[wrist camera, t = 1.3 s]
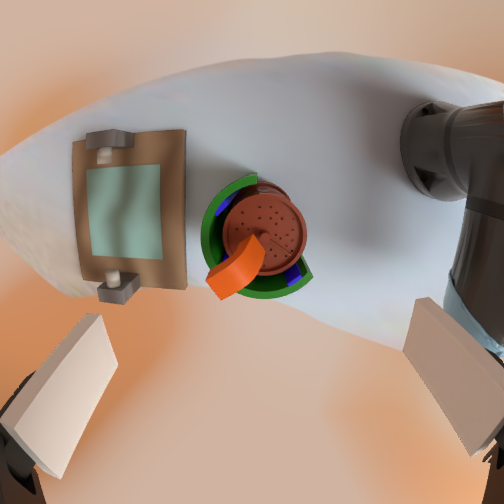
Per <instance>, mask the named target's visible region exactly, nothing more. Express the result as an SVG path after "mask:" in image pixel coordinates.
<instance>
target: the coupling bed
mask: <svg viewBox="0 0 504 504" xmlns="http://www.w3.org/2000/svg"><path fill="white" fill-rule="evenodd" d="M185 156H186V130H166V131H153V132H142V133H131V132H126V131H120V130H115V129H111V130H104V131H98V132H92V133H86V140H82V141H76V142H73V156H72V172H73V200H74V215H75V226H76V236H77V244H78V252H79V258H80V265H81V271H82V277H83V280H86V281H94V282H103V283H102V284H101V285H100V286H99V287H98V288H97V291H98V296H99V301H101V302H107V303H114V304H122V305H124V304H125V303H126V302H127V301H128V300H129V298H130V297H131V296H132V295H133V294H134V293H135V292H136V291H137V290H138V289H139V288H140V286H143V287H154V288H165V289H178V290H185V289H186V287H187V267H186V238H185Z"/></svg>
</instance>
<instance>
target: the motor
mask: <svg viewBox="0 0 504 504" xmlns="http://www.w3.org/2000/svg"><path fill="white" fill-rule="evenodd" d="M245 186H246V187H245ZM243 187H245V188H243ZM241 188H243V189H242V190H241ZM240 190H241V191H240ZM239 191H240V192H239ZM238 192H239V194H238ZM237 194H238V195H237ZM236 195H237V196H236ZM235 196H236V198H235V200H234V202H233V205H232V209H231V211H230V213H229V203H230V202H231V201H232V200H233V198H234V197H235ZM306 240H307V229H306V224H305V221H304V218H303V216H302V214H301V213H300V211H299V210H298V209H297V208H296V207H295V205H293V203H292V202H291V200H290V198H289V197H288V195H287V194H286V193H285V192H284V191H283V190H282V189H281V188H280V187H278V186H277V185H275V184H272V183H269V182H257V173H252V174H249V175H246V176H244V177H242V178H241V179H239V180H237V181H235V182H233V183H232V184H230V185H228V186H227V187H226V188H224V189H223V190H222V191H221V192H220V193H219V194H218V195H217V196H216V197H215V198H214V200H213V201H212V202H211V204H210V205H209V207H208V209H207V211H206V213H205V216H204V219H203V222H202V227H201V247H202V252H203V255H204V258H205V261H206V263H207V265H208V267H209V268H210V271H209V273H208V276H207V278H206V280H205V281H206V282H207V283H208V285H209V286H210V287H211V288H212V290H213V291H214V292H215V293H216V295H217V296H218V297H219V298H220V300H223V299H225V298H227V297H229V296H231V295H232V294H234V293H238V294H241V295H244V296H247V297H251V298H257V299H272V298H278V297H282V296H286V295H288V294H291V293H293V292H295V291H297V290H298V289H300V288H302V287H303V286H304V285H306V284H307V283H308V282H309V281H310V280H311V279H312V278H313V275H312V273H311V271H310V269H309V267H308V265H307V263H306V261H305V259H304V257H303V255H302V253H303V251H304V248H305V245H306Z"/></svg>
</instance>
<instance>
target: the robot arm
mask: <svg viewBox="0 0 504 504" xmlns="http://www.w3.org/2000/svg"><path fill="white" fill-rule="evenodd" d="M400 145H401V155H402V159H403V163H404V166H405V169H406V171H407V173H408V175H409V177H410V179H411V180H412V182H413V183H414V185H415V186H416V187H417V188H418V189H419V190H420V191H421V192H422V193H424V194H425V195H427V196H429V197H431V198H434V199H437V200H441V201H456V200H460V199H463V198H467V200H466V207H465V212H464V218H463V224H462V229H461V234H460V238H459V243H458V247H457V251H456V255H455V259H454V263H453V266H452V269H450V271H449V276H448V277H449V281H448V285H447V289H446V293H445V296H444V301H443V308H444V310H443V309H442V308H441V307H440V306H439V305H438V304H436V303H435V302H434V301H433V300H432V299H431V298H430V297H427V298H420V299H416V300H415V305H414V309H413V313H412V318H411V322H410V326H409V330H408V334H407V337H406V341H405V345H404V348H403V353H404V354H405V355H406V357H407V358H408V360H409V361H410V362H411V364H412V365H413V367H414V368H415V370H416V371H417V373H418V374H419V376H420V377H421V378H422V380H423V381H424V383H425V384H426V386H427V387H428V389H429V390H430V392H431V393H432V395H433V396H434V398H435V399H436V401H437V402H438V404H439V405H440V407H441V409H442V410H443V412H444V413H445V415H446V417H447V418H448V420H449V421H450V423H451V425H452V426H453V428H454V430H455V431H456V433H457V435H458V436H459V438H460V440H461V441H462V443H463V444H464V446H465V448H466V450H467V452H468V453H469V455H470V457H473V456H474V455H476V454H478V453H479V452H481V451H482V450H484V449H485V448H487V446H488V445H489V444H490V443H491V441H492V440H493V439H494V438H495V440H496V441H497V443H496V444H495V445H494V446H493V448H492V449H491V450H490V451H489V452H488V453H487V454H486V456H485V457H484V459H483V461H482V462H485V461H486V460H487V459H488V458H489V457H490V456H491V455H492V457H491V458H490V460H489V461H488V463H491V465H490V470H489V476H488V480H487V485H486V489H485V493H484V497H483V501H482V504H504V363H503V361H502V360H501V359H500V357H504V101H497V102H491V103H485V104H479V105H474V106H468V107H459V106H456V105H453V104H449V103H445V102H440V101H433V102H428V103H425V104H422V105H419V106H417V107H416V108H414V109H413V110H412V111H411V112H410V113H409V115H408V116H407V118H406V120H405V122H404V124H403V127H402V132H401V141H400ZM117 367H118V363H117V360H116V357H115V355H114V352H113V349H112V346H111V344H110V340H109V338H108V335H107V332H106V328H105V326H104V322H103V319H102V316H101V314H92V313H87V314H86V315H85V316H84V317H83V318H82V319H81V320H80V321H79V322H78V323H77V324H76V326H75V327H74V328H73V329H72V330H71V331H70V332H69V333H68V334H67V336H66V337H65V338H64V339H63V340H62V341H61V343H59V345H58V346H57V347H56V348H55V349H54V350H53V352H52V353H51V354H50V355H49V356H48V358H47V359H46V360H45V361H44V362H43V364H42V365H41V366H40V367H39V368H38V370H37V371H35V372H33V373H32V374H30V375H29V376H27V377H26V378H25V379H24V380H23V382H22V383H21V384H20V385H19V388H17V389H16V391H15V392H14V395H12V396H11V397H10V398H9V400H8V401H7V402H6V404H5V405H4V406H3V408H2V409H1V410H0V504H46V501H45V498H44V495H43V492H42V489H41V485H40V481H39V477H38V474H37V472H36V470H35V469H34V468H33V467H34V465H35V463H36V464H37V465H38V466H39V467H40V468H41V469H42V470H43V471H44V472H46V473H48V474H50V475H52V476H54V477H56V478H59V479H61V478H62V476H63V473H64V471H65V469H66V467H67V465H68V462H69V460H70V458H71V456H72V454H73V452H74V449H75V447H76V445H77V443H78V441H79V439H80V437H81V435H82V433H83V431H84V429H85V427H86V425H87V423H88V421H89V419H90V417H91V415H92V413H93V411H94V409H95V407H96V405H97V403H98V401H99V400H100V398H101V396H102V394H103V392H104V390H105V388H106V387H107V385H108V383H109V381H110V379H111V377H112V376H113V374H114V372H115V370H116V368H117Z"/></svg>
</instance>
